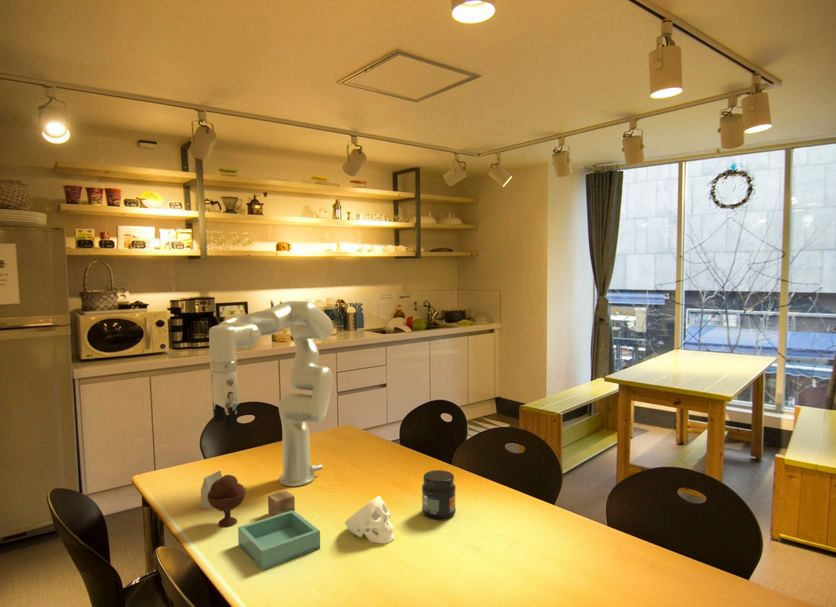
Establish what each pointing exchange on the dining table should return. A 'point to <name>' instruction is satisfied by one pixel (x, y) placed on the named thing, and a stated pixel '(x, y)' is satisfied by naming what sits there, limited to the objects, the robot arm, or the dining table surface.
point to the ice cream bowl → (226, 497)
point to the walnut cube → (280, 503)
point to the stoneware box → (278, 539)
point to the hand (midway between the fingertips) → (225, 424)
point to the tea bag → (208, 489)
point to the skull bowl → (372, 522)
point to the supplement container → (438, 495)
